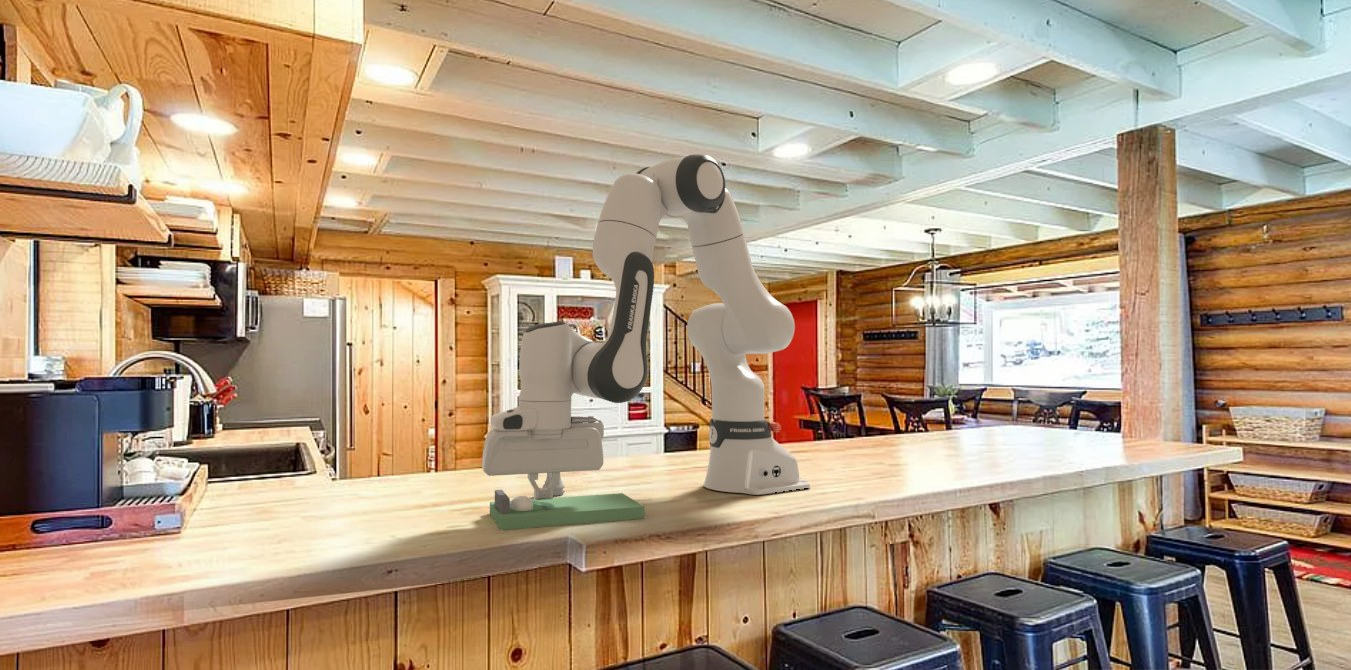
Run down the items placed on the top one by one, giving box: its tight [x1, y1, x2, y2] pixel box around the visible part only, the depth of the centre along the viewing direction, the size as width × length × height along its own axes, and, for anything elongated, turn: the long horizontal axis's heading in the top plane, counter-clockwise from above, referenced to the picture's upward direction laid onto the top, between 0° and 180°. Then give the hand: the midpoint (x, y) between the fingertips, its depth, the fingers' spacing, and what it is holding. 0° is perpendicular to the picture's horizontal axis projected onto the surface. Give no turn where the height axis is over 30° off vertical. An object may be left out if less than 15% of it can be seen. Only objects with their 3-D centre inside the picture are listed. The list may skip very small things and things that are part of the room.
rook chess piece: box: [541, 473, 566, 497], centre depth 140 cm, size 4×4×8 cm
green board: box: [489, 489, 645, 531], centre depth 122 cm, size 24×12×4 cm, turn 112°
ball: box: [510, 494, 533, 511], centre depth 119 cm, size 4×4×4 cm
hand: (543, 499), depth 120 cm, fingers closed
